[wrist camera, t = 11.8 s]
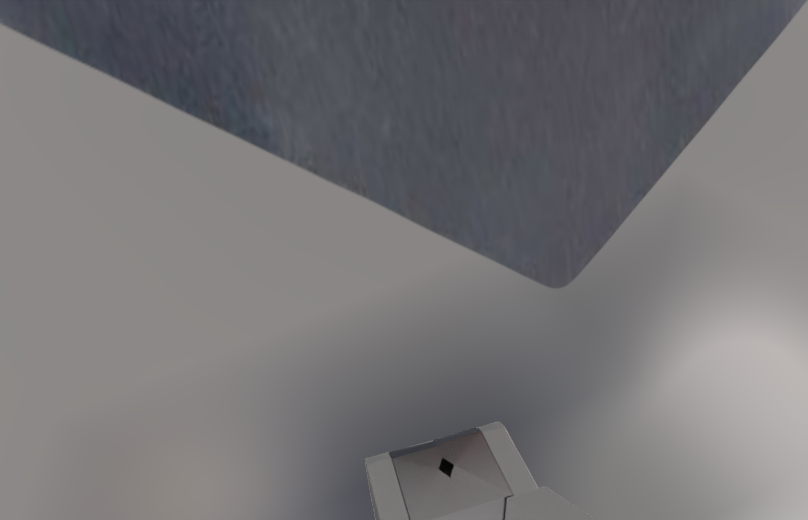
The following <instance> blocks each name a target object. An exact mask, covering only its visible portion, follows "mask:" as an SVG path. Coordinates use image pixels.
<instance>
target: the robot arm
mask: <svg viewBox="0 0 808 520" xmlns="http://www.w3.org/2000/svg"><path fill="white" fill-rule="evenodd" d="M365 463H366V469H367V475H368V482H369V488H370V493H371V499H372V504H373V509H374V514H375V519H376V520H596V519H595V518H593V517H591V516H590V515H588V514H587V513H585V512H584V511H582V510H581V509H579V508H578V507H576V506H575V505H573V504H572V503H570V502H568V501H567V500H565V499H564V498H562V497H561V496H559V495H558V494H556V493H555V492H553V491H552V490H550V489H549V488H547V487H546V486H545V487H540V488H538V486H537V484H536V483H535V481H534V479H533V477H532V475H531V474H530V472H529V470H528V468H527V467H526V465H525V463H524V461H523V459H522V457H521V456H520V454H519V452H518V450H517V449H516V447H515V445H514V443H513V441H512V439H511V438H510V436H509V434H508V432H507V430H506V429H505V427H504V425H502V424H501V423H500V422H495V423H491V424H488V425H485V426H481V427H478V428H472V429H468V430H465V431H462V432H459V433H455V434H452V435H448V436H445V437H442V438H438V439H435V440H433V441H430V442H426V443H423V444H419V445H415V446H411V447H408V448H404V449H400V450H396V451H392V452H387V453H384V454H380V455H377V456H373V457H370V458H366V459H365Z"/></svg>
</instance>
